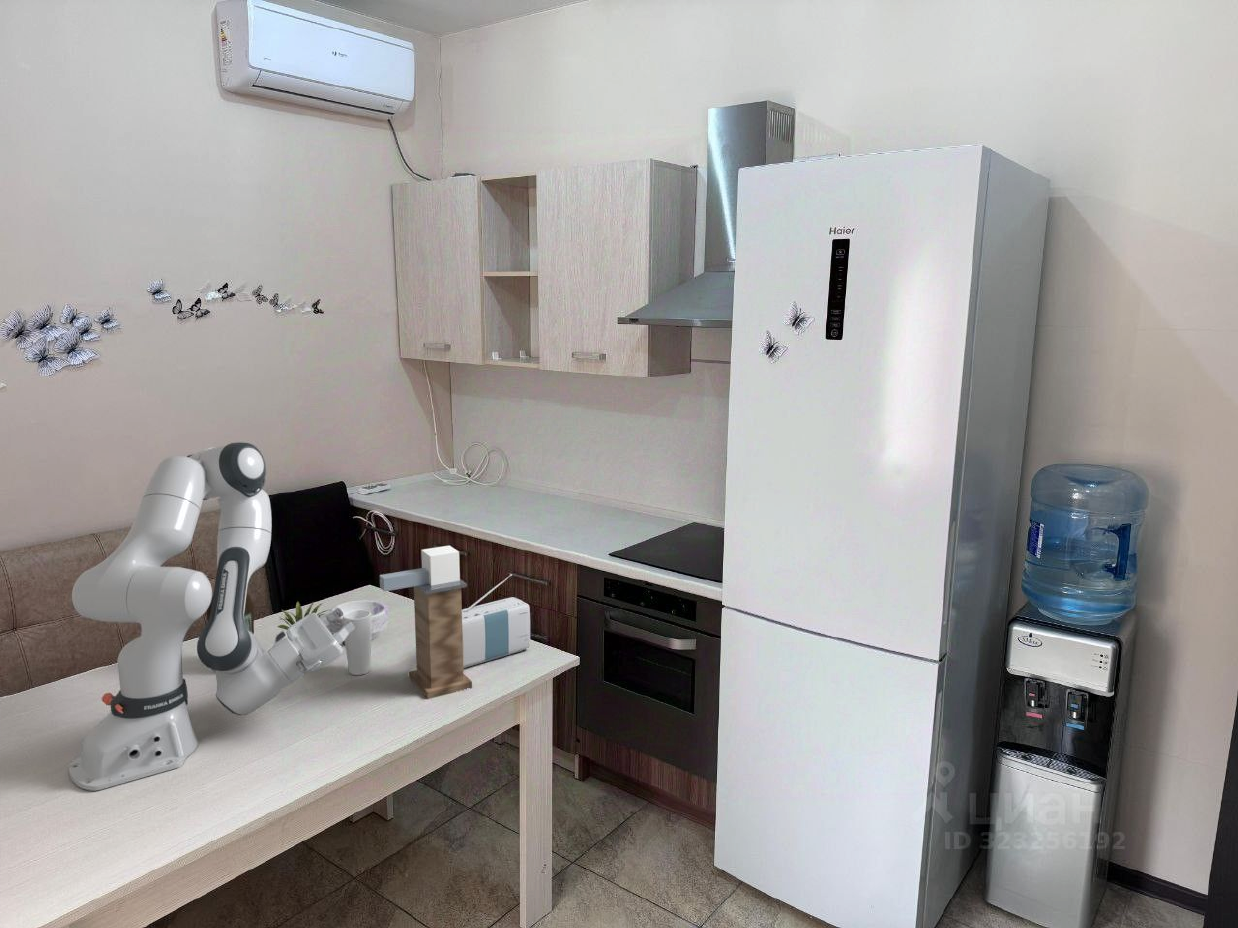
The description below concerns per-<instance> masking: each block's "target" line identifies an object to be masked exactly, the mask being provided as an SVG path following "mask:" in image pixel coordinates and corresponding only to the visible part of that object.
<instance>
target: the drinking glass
mask: <svg viewBox="0 0 1238 928" xmlns="http://www.w3.org/2000/svg"><path fill="white" fill-rule="evenodd" d="M348 621H350V622H351V623H352V624H353V625H354V626H355V629H354V630H353V631H351V632H350V633H349V634H348V636H347V637H346V639H345V641H344V645H345V651H346V652H345V653H346V659H347V669H348V673H349V674H351V675H352V676H361V675H366V674H368V673H369V672H370V671H371V668H372V666H371V665H372V664H371V663H372V661H371V660H372V659H371V658H372V640H373V639H372V619H371V612H370V611H367V610H352V611H349V612H346V613H345V614H344V615H343V625H344V624H345V623H347V622H348ZM343 627H344V626H343Z"/></svg>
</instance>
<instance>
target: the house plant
mask: <svg viewBox="0 0 1238 928" xmlns="http://www.w3.org/2000/svg"><path fill="white" fill-rule="evenodd" d="M314 602H315V601H312V602H311V604H310V605H309V607H308V608H307V610H306V611H305V613H304V615H303V608H302V607H301V604H300V602H299V601H297V602H296V605H295V614H294V613H293V612H291V611H286V610H283V609H281V611H282V613H283V615H282V616H283V617H284V618H282V617H278V618H279V621H281V620H283V621H284V622H285V623H286V624H287V625H285V624H280V625H277V628H279V629H282V630H285V631H287V630H288V628H289V627H291V626H292V625H293V624H295V623H296V622H297V621H299V620H300V619H302V618H303V617H305V616H307V615H308V614H311V613H316V614H317V615H318V617H321V616H322V615H324V614H325V612H330V609H327V610H322V611H321V612H319V613H317V612H318V609H319V608H320V607H321V606H322V605H323V604H324V603H323V602H321V603H320V604H318V605H317V606H315V607H314V608H313V610H312V607H313V605H314ZM331 609H332V608H331ZM311 610H312V611H311ZM332 610H333V609H332ZM292 616H293V617H294V618H293V617H292ZM294 619H295V620H294ZM326 627H327V628H328V625H327V626H326Z"/></svg>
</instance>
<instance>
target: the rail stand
mask: <svg viewBox="0 0 1238 928" xmlns="http://www.w3.org/2000/svg"><path fill="white" fill-rule="evenodd" d="M467 587H468V584H467V582H465V581H464V580H462V579H461V578H460V580H459V581H454V582H448V583H442V584H437V585H430V584H424V585H418V586H413V605H414V608H413V609H414V631H415V633H414V634H415V636H414V637H415V655H416V658H415V659H416V669H415V670H411V671H410V670H409V671H408V679H409V680H410V681H411V682H412V683H413V684H414V685H415V686H416V688H417V689H418V690H419V691H420V693H422V694H423V695H424V697H425V698H426V699H427V700H429V699H432V698H433V699H434V698H438V697H441V696H445V695H449V694H452V693H457V692H456V691H458V692H461V691H460V690H462V691H465V690H464V689H466V690H468V689H467V688H470V687H472V688H473V680H471V679H470V678H469V677H468V676H467V675H466V674H465V673H464V669H463V637H462V608H463V606H462V602H463V601H462V589H464V588H467ZM470 689H471V688H470Z"/></svg>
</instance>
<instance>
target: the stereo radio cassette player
mask: <svg viewBox="0 0 1238 928" xmlns="http://www.w3.org/2000/svg"><path fill="white" fill-rule="evenodd" d="M512 576H513V574H511V573H510V574H509V576H508V577H506V578H504V579H503V580H502V581H501V582H500V583H498V584H497V585H495V586H494V587H493V588H492V589H490V590H489V591H488V592H487V593H485V594H484V595H483V596H482V597H480V598H479V599H478V600H476V601H475V602H474V603H473V604H471V606H468V608H466V607H465V608H463V609H462V637H463V670H464V669H466V668H469V667H473V666H476V665H480V664H482V663H486V662H489V661H492V660H495V659H499V658H503V657H506V656H509V655H513V654H516V653H519V652H524V651H525V650H527V649H528V648H530V645H531V612H530V608H531V607H530V605H529V604H528V603H526V602H524V601H523V600H521V599H519V598H517V597H514V596H513V597H512V596H511V597H507V598H503V599H498V600H495V601H491V602H488V603H483V604H479V605H477V604H478V603H480V602H481V601H483V599H484V598H486V597H487V596H488V595H489V594H491V593H492V592H493V591H494V590H495V589H497V588H499V586H500V585H502V584H503V583H504V582H505V581H506V580H507V579H508V578H510V577H512ZM523 650H524V651H523Z"/></svg>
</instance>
